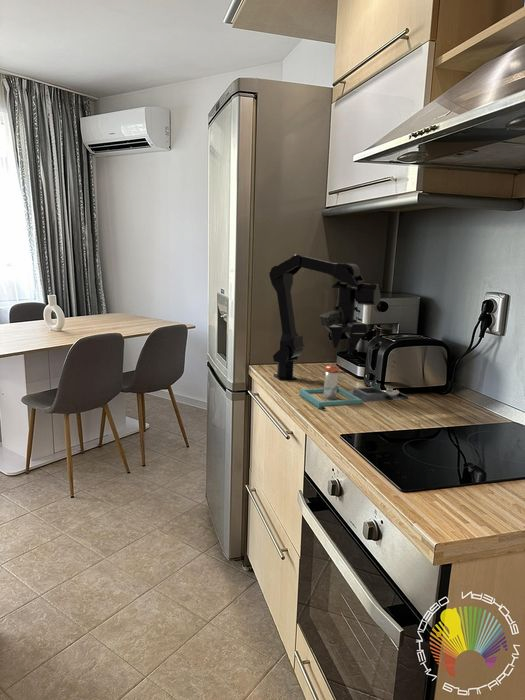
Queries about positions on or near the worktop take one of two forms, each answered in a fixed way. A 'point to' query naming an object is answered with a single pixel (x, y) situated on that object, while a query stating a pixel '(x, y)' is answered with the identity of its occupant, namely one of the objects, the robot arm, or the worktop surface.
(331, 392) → the pin
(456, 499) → the worktop surface
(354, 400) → the tray
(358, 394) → the block
